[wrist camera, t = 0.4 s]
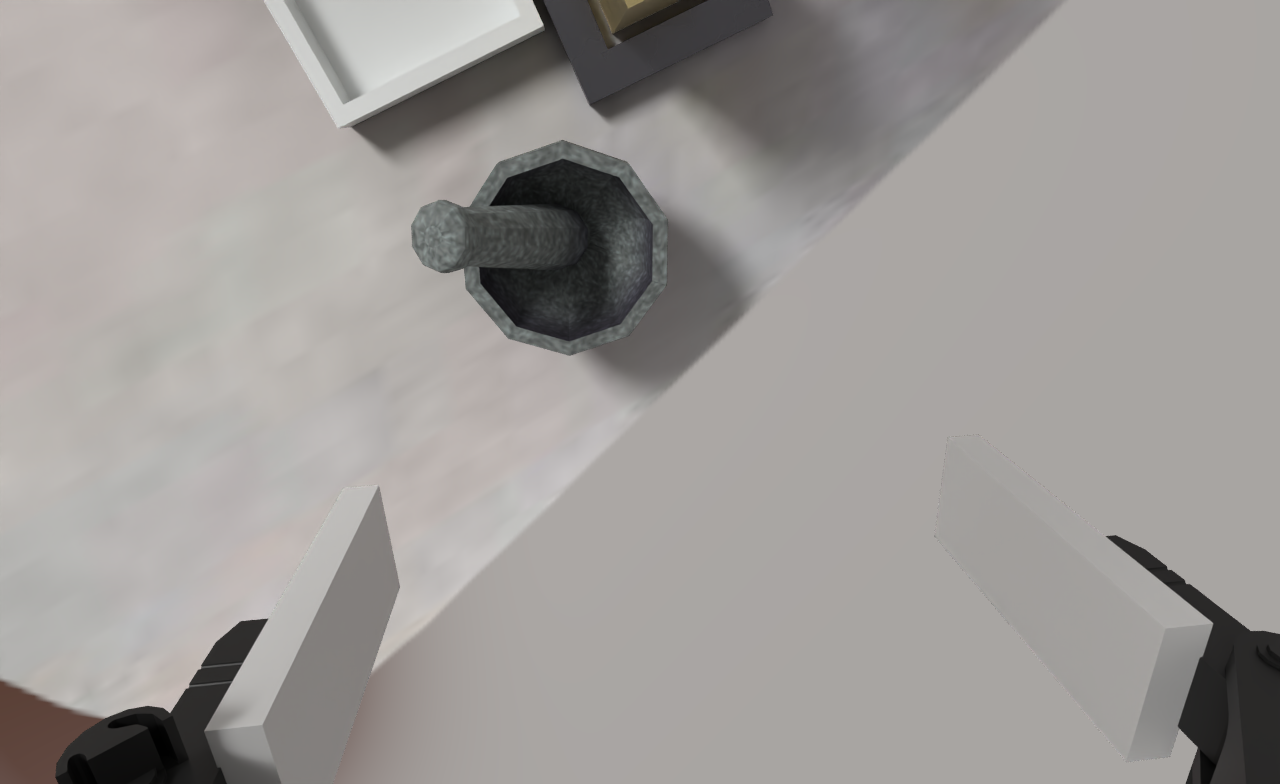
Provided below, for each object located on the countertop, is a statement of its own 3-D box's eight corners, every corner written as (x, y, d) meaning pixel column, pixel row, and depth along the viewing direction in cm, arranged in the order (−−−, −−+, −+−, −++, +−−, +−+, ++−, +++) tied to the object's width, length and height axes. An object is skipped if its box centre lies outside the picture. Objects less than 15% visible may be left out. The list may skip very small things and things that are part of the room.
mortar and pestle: (678, 174, 39) (722, 201, 28) (625, 333, 42) (646, 415, 31) (472, 104, 37) (431, 103, 25) (432, 277, 40) (380, 344, 29)
